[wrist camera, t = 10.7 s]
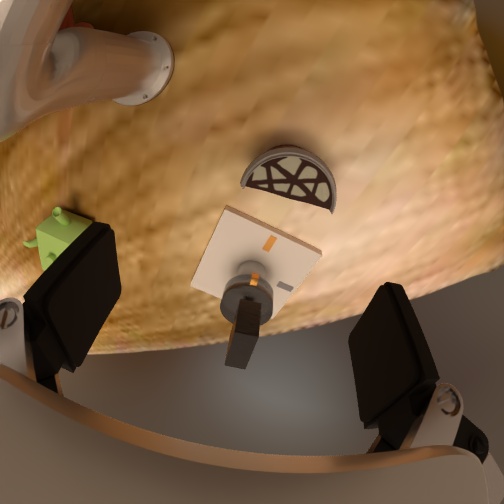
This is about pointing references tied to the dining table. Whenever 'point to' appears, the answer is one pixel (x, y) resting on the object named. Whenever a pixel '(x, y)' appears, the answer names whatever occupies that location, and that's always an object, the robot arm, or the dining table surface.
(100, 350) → the dining table surface
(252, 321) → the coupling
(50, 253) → the kettle
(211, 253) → the post base
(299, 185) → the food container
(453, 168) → the dining table surface
